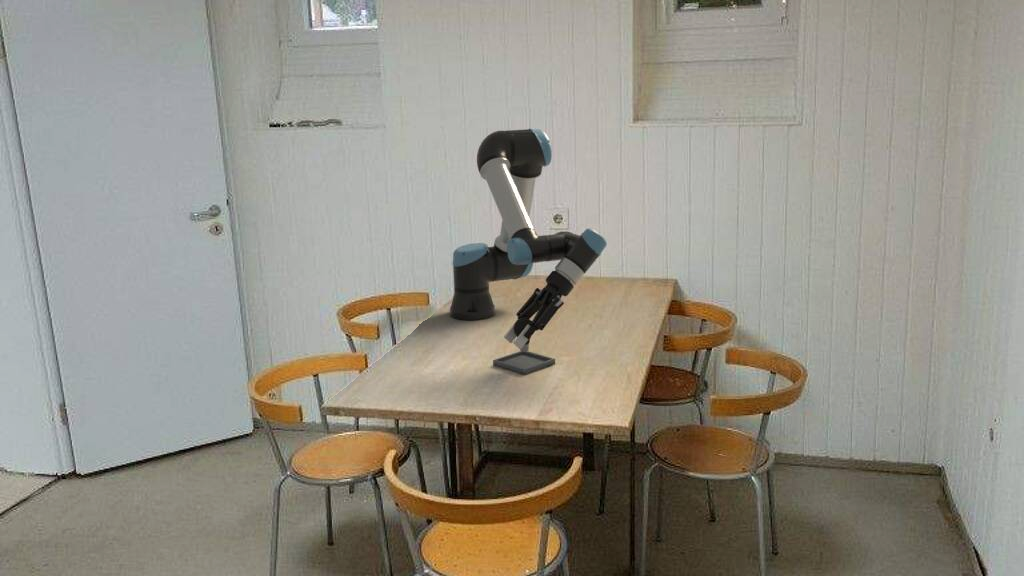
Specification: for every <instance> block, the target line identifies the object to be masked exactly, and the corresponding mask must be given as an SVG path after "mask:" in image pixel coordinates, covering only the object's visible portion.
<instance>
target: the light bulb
mask: <svg viewBox="0 0 1024 576" xmlns="http://www.w3.org/2000/svg"><path fill="white" fill-rule="evenodd" d="M532 321H533V320H531V318H530V319H528V318H520V319H518V318H517V319H516V321H515V322H514V323H515V324H514V323H513V325H514V332H515V334H516V336H517V337H518V336H519V335H520V334H521V332H522V331H523V330H524V329H525V327H526V326H527V325H529V324H528V323H529V322H532ZM517 337H516V338H517ZM531 338H532V336H531V337H530V338H529V340H528V341H527V342H526V343H525V345H524V346H523V347H522V348H521V349H519V351H522V352H523V353H526V352H527V351H530V341H531Z"/></svg>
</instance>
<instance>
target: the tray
mask: <svg viewBox="0 0 1024 576" xmlns="http://www.w3.org/2000/svg"><path fill="white" fill-rule="evenodd" d="M553 364H554V365H556V358H553V357H550V356H545V355H543V354H538V353H536V352H533V351H530V350H528V351H527V352H526V353H523V352H522V351H520V350H519V351H516V352H514V353H511V354H508V355H504V356H502V357H499V358H495V359H493V360H492V366H493V367H494V366H495V367H498V368H501V369H504V370H507V371H511V372H513V373H517V374H520V375H523V376H526V375H527V374H528V375H529V374H531V373H534V372H536V371H539V370H543V369H546V368H548V367H551V366H554V365H553Z"/></svg>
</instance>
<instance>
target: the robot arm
mask: <svg viewBox="0 0 1024 576" xmlns="http://www.w3.org/2000/svg"><path fill="white" fill-rule="evenodd" d="M552 152H553V151H552V145H551V142H550V139H549V136H548V135H547V133H546V132H545V131H544V130H542V129H539V128H537V129H536V128H527V129H513V130H510V129H508V130H496V131H493V132H491V133H490V134H488V135H487V136H486V137H485V138H484V139H482V141H481V143H480V145H479V146H478V150H477V155H476V166H477V169H478V172H479V174H480V177H481V178H482V179H483V180H485V181H486V183H487V186H488V188H489V190H490V193H491V195H492V197H493V198H492V199H493V200H494V202H495V205H496V207H497V209H498V213H499V214H500V217H501V219H502V221H501V227H500V232H499V233H500V234H499V235H498V236H497V237H495V238H494V244H493V246H488V244H486V243H485V242H476V243H467V244H463V245H461V246H459V247H457V248H456V249H454V251H453V253H452V255H453V256H452V258H453V259H452V267H453V271H452V272H453V287H454V288H453V289H454V290H453V297H452V300H451V305H450V306H449V316H450V317H451V318H453V319H455V320H456V319H457V320H462V321H463V320H466V321H474V320H475V321H477V320H484V319H489V318H491V317H494V316H495V315H496V308H495V307H496V306H495V304H494V301H493V298H492V296H491V293H490V283H492V282H498V281H499V282H500V281H508V280H518V279H522V278H526V277H528V275H530V274H531V272H532V270H533V267H534V264H535V263H543V262H556V261H559V262H558V263H557V264H556V266H555V267H554V270H552V271H551V272H550V273H549V274H548V276H546V278H545V282H546V285H544V287H543V288H541V289H540V288H539V287H536V288H535V289H534V291H533V293H532V295H531V296H530V297H529V298H528V299H527V301H526V302H525V303H523V304H522V307H520V309H519V310H518V311H517V312H516V314H515V315H516V316H517V320H518V319H520V318H528V319H530V320H531V318H532V317H533V316H534V317H533V319H532V320H531V321H532V322H529V323H528V324H529V325H527V326H526V327H525V329H524V330H523V331H522V332H521V334H520V335H519V336H518V337H517V336H516V334H515V332H514V324H515V322H514V323H513V325H512V326H511V327H510V328H509V330H508V331H507V332H506V333H505V335H504V336H503V338H504V339H505V340H506V341H507V342H508V343H510V344H512V343H513V345H515V346H516V347H517V348H518V349H519V350H520V349H521V348H522V347H523V346H524V345H525V343H526V342H527V341H528V340H529V338H530V337H531V338H532V336H533V335H534V334H535V332H537V331H538V330H539V331H543V330H544V329H545V327H546V326H547V325H548V323H549V322H550V321H551V320H552V319H553V317H554V316H555V314H557V312H558V310H559V309H560V308H562V306H563V305H564V304H565V302H564V301H563V300H562V299H561V298H562V297H567V296H569V294H570V293H571V292H572V290H573V289H574V285H575V286H576V285H577V284H578V282H580V280H582V278H583V276H584V275H585V274H586V273H587V271H589V270H590V268H591V267H592V266H593V264H594V263H595V262H596V261H597V259H598V258H599V257H600V256H601V255H602V252H603V251H604V250H605V248H606V247H607V241H606V239H605V238H604V237H603V236H602V235H601V234H600V233H599V232H597V231H596V230H595V229H592V228H586V229H585V230H584V231H583V232H582V233H581V234H580V235H578V234H576V233H573V232H570V231H566V230H564V231H562V230H561V231H557V232H556V233H555V234H554V233H553V234H546V235H544V234H543V235H538V234H537V232H536V230H535V227H534V225H533V221H532V220H531V217H530V214H531V208H532V203H533V197H534V189H535V185H536V184H535V183H536V179H537V178H539V177H540V176H541V175H542V171H543V167H544V168H545V167H547V166H549V165H550V164H551V162H552V155H553V153H552ZM531 338H530V339H531Z"/></svg>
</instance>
